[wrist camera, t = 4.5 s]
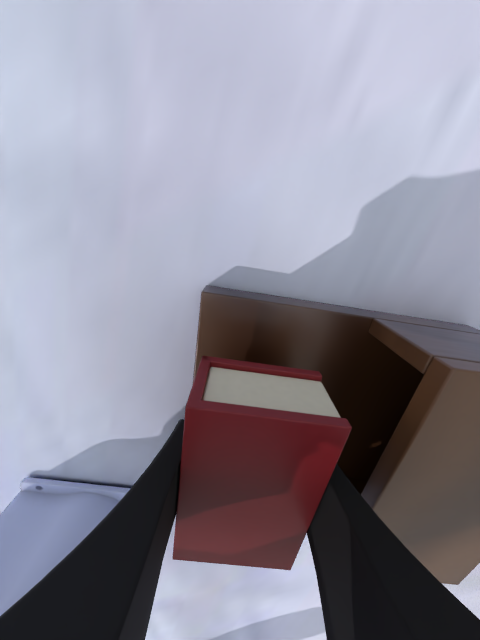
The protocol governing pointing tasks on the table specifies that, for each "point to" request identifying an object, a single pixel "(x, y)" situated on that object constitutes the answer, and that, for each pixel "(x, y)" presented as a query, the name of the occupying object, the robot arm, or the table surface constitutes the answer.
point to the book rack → (379, 407)
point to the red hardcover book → (253, 462)
